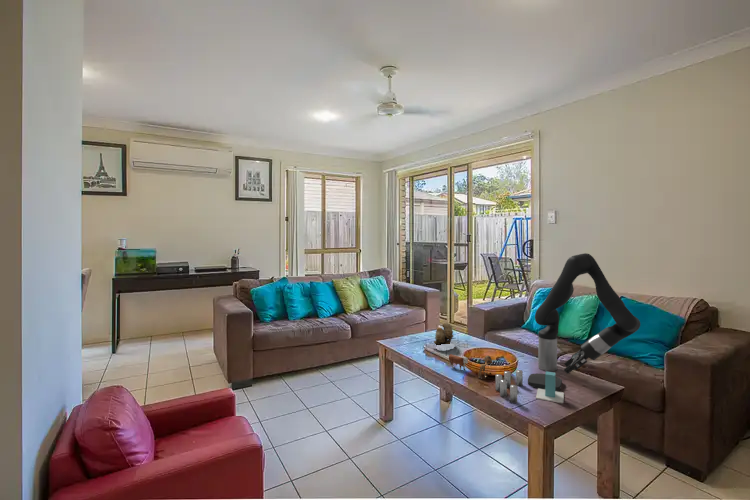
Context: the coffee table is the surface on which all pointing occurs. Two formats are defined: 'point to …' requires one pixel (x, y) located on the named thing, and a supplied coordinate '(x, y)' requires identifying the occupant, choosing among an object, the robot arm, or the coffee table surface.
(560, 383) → the media streaming box
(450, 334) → the brown squirrel figurine
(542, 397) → the tile
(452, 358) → the bull figurine
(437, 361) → the coffee table surface
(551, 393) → the teal block
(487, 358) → the lion figurine
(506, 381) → the posts
